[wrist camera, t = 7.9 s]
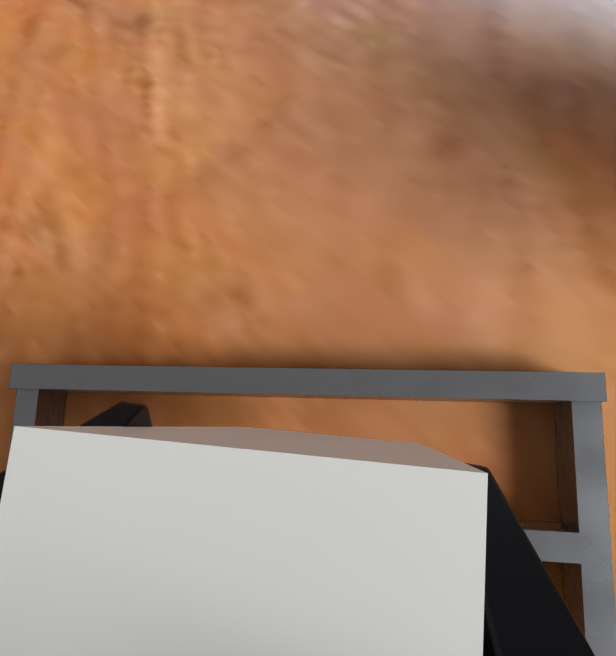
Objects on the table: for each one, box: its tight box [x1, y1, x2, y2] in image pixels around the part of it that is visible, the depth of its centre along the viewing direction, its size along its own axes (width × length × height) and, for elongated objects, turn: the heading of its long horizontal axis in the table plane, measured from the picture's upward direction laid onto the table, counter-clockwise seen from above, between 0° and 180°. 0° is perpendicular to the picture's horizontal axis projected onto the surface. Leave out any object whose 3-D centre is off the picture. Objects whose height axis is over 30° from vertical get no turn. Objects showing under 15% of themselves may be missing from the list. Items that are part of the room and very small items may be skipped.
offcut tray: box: [8, 364, 616, 656], centre depth 20 cm, size 23×18×2 cm
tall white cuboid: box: [0, 426, 488, 656], centre depth 10 cm, size 5×3×10 cm, turn 85°
